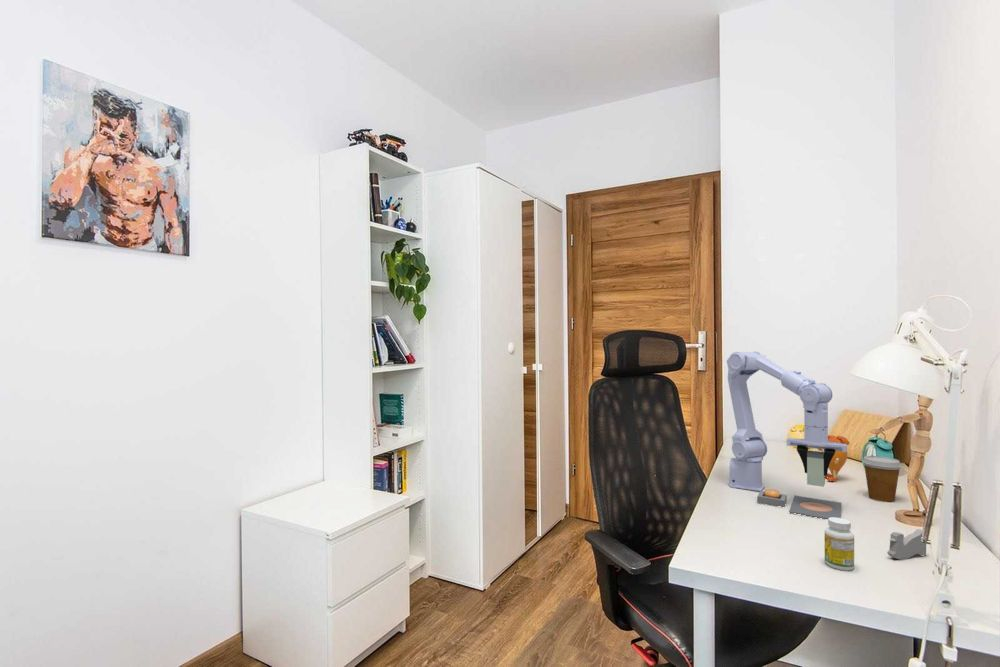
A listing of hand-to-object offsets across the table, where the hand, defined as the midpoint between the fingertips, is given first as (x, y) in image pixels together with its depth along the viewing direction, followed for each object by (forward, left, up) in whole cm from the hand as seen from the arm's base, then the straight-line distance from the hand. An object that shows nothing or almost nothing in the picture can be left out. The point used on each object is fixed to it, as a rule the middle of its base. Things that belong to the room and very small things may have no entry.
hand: (815, 473), depth 146 cm
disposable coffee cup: (+16, +22, -10) cm, 29 cm away
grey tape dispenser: (+18, -26, -10) cm, 34 cm away
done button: (-11, -1, -9) cm, 14 cm away
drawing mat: (0, 0, -10) cm, 10 cm away
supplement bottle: (+6, -40, -10) cm, 42 cm away
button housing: (-11, -1, -10) cm, 15 cm away
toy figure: (+4, +38, -10) cm, 40 cm away
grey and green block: (0, 0, -3) cm, 3 cm away
